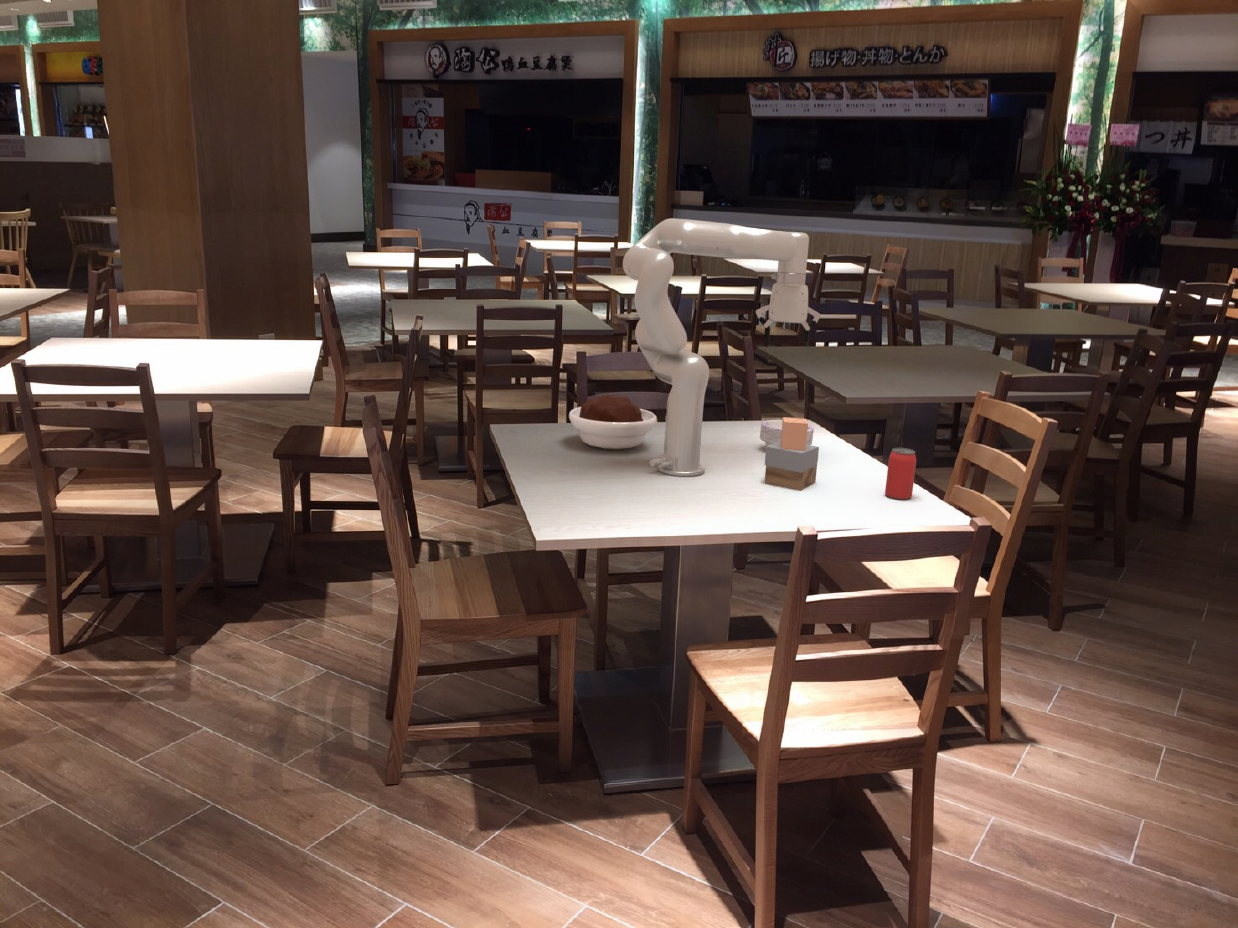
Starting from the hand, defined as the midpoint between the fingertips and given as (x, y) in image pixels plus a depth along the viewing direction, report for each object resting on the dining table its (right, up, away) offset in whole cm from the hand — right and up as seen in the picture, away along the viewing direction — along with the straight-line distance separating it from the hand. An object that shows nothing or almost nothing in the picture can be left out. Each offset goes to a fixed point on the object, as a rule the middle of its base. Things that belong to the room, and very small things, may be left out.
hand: (785, 343), depth 278 cm
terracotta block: (-1, -28, -16) cm, 32 cm away
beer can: (+25, -41, -20) cm, 52 cm away
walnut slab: (-1, -38, -13) cm, 40 cm away
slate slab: (-1, -33, -14) cm, 36 cm away
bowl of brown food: (-47, -28, +18) cm, 58 cm away
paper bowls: (+3, -29, +22) cm, 37 cm away
